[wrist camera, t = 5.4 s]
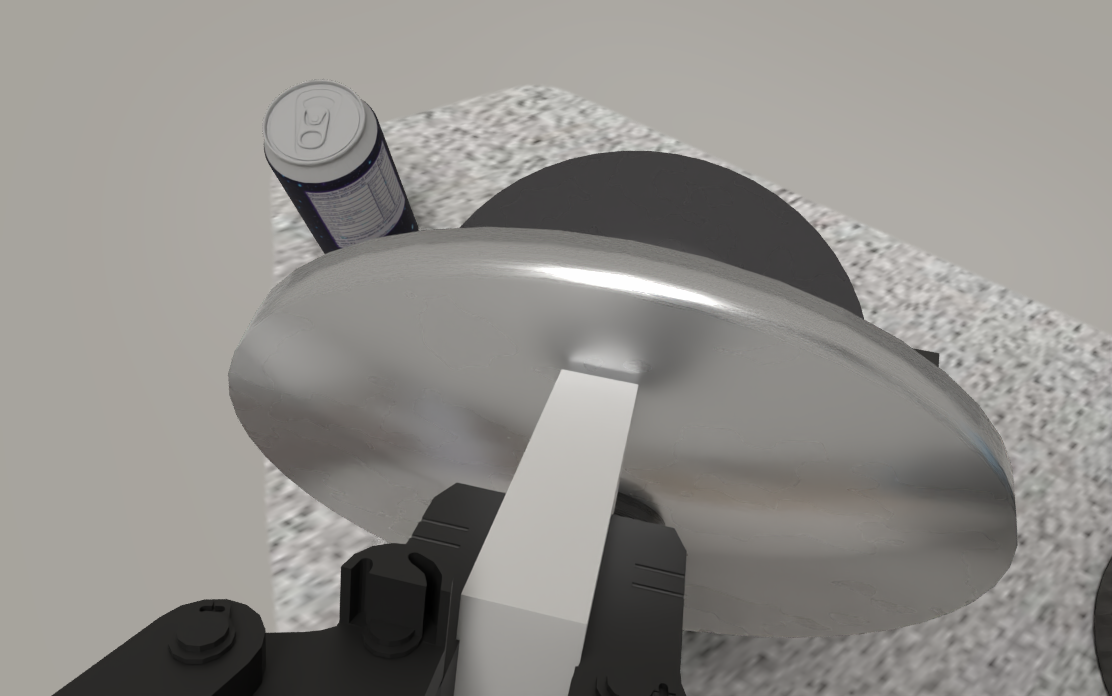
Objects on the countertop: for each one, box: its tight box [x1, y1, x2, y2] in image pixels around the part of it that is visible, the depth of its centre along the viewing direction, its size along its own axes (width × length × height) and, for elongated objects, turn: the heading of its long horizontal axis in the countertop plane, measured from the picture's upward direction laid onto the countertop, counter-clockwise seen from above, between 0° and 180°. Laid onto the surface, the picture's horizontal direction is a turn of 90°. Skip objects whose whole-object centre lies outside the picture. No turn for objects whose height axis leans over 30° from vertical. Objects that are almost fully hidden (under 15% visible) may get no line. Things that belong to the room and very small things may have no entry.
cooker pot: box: [460, 151, 939, 367], centre depth 40 cm, size 26×20×10 cm
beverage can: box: [262, 79, 418, 254], centre depth 43 cm, size 6×6×12 cm
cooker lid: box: [228, 227, 1017, 638], centre depth 22 cm, size 20×20×2 cm
